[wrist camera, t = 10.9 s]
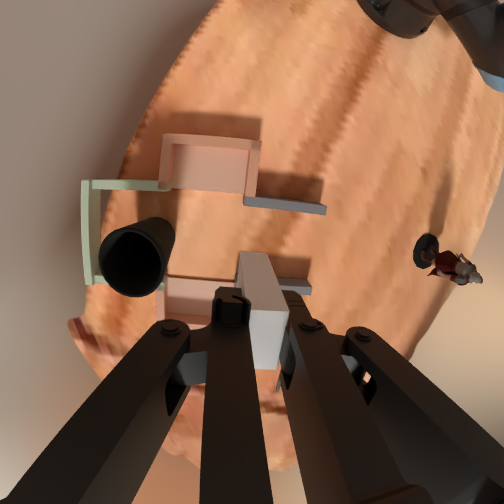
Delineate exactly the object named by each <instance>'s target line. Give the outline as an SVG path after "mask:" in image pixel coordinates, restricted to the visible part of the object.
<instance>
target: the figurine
mask: <svg viewBox="0 0 504 504" xmlns="http://www.w3.org/2000/svg"><path fill="white" fill-rule="evenodd" d="M456 255H457V254H456ZM460 256H461V257H462V259H463V260H464V261H465V262H466V263H464V262H462V261H461V260H460ZM457 257H458V258H457ZM457 257H456V256H455V255H454V254H453V253H452V252H451V251H449V250H447V251H445V252H442V253H439V243H438V241H437V238H436V237H435V236H433V235H431V234H427V235H423V236H422V237H421V238H420V239H419V240H418V241H417V243H416V245H415V248H414V251H413V260H414V262H415V264H416V266H417V267H419V268H422V269H425V268H428V267H430V266H431V265H432V264H433V265H435V267H436V268H434V269H433V270H432V271H431V272H430V274H429V275H436V276H441V277H445V278H448V279H450V280H451V281H454V282H456V283H457V284H458V285H466V284H467V283H472V282H475V283H482V282H483V279H482V277H481V276H480V274H479V273H478V272H477V271H476V266H475V265H474V264H472V263H471V262H470V261H469V260H467V259H466V258H465V257H464V256H463V254H462V253H461V254H460V255H459V256H458V255H457ZM429 275H427V276H429Z"/></svg>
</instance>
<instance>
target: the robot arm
mask: <svg viewBox="0 0 504 504" xmlns="http://www.w3.org/2000/svg"><path fill="white" fill-rule="evenodd" d="M357 1H358V3H359V5H360V6H361V8H362V9H363V11H364V12H365V13H366V14H367V15H368V16H369V17H370V18H371V19H372V20H373V21H374V22H375V23H376V24H378V25H379V26H380V27H382V28H383V29H385V30H386V31H388V32H390V33H392V34H394V35H396V36H398V37H402V38H406V39H413V38H416V37H418V36H420V35H422V34H424V33H425V32H426V31H427V29H428V28H429V26H430V25H431V23H432V22H433V20H434V19H435V17H436V16H437V15H439V14H441V15H442V16H443V18H444V19H445V20H446V22H447V23H448V25H449V26H450V27H451V29H452V30H453V31H454V33H455V34H456V36H457V37H458V39H459V40H460V42H461V43H462V45H463V46H464V48H465V50H466V51H467V53H468V54H469V56H470V58H471V59H472V63H473V65H474V66H475V67H476V68H477V69H478V71H479V73H480V75H481V76H482V78H483V80H484V81H485V83H486V84H487V85H488V86H490V87H491V88H492V89H494V90H496V91H499V92H503V93H504V3H502V4H501V3H500V2H499V1H498V0H357ZM279 359H280V363H281V371H280V375H279V379H278V383H277V387H276V391H279V389H280V386H281V388H282V392H283V397H284V401H285V405H286V410H287V414H288V419H289V423H290V428H291V432H292V437H293V441H294V446H295V450H296V455H297V459H298V463H299V468H300V473H301V477H302V482H303V486H304V490H305V495H306V499H307V504H504V448H503V447H502V446H501V445H500V444H499V443H498V442H497V441H496V440H495V439H494V438H493V437H492V436H491V435H489V433H487V432H486V431H485V430H484V429H483V428H482V427H481V426H480V425H479V424H478V423H477V422H476V421H474V420H473V419H472V418H471V417H470V416H469V415H468V414H467V413H466V412H465V411H464V410H462V409H461V408H460V407H459V406H458V405H457V404H456V403H455V402H453V400H451V399H450V398H449V397H448V396H447V395H446V394H445V393H444V392H442V391H441V390H440V389H439V388H438V387H437V386H436V385H434V384H433V383H432V382H431V381H430V380H429V379H428V378H427V377H425V376H424V375H423V374H422V373H421V372H420V371H419V370H418V369H417V368H415V367H414V366H413V365H412V364H411V363H410V362H409V361H407V360H406V359H405V358H404V357H403V356H402V355H401V354H399V353H398V352H397V351H396V350H395V349H394V348H392V347H391V346H390V345H389V344H388V343H387V342H386V341H384V340H383V339H382V338H381V337H380V336H379V335H377V334H376V333H375V332H373V331H372V330H370V329H367V328H366V327H360V326H359V327H351V328H349V329H348V330H347V332H346V335H345V336H341V335H336V334H331V333H329V332H328V330H327V328H326V326H325V325H324V324H323V323H322V322H320V321H319V320H316V319H313V318H312V317H311V315H310V313H309V311H308V309H307V307H306V305H305V303H304V301H303V299H302V297H301V295H299V294H298V293H297V292H295V291H292V290H281V288H280V286H279V283H278V281H277V278H276V275H275V273H274V270H273V268H272V265H271V263H270V260H269V258H268V255H267V253H259V252H248V251H240V259H239V268H238V278H237V288H236V287H223V286H220V287H219V288H218V289H216V290H215V296H214V299H213V300H212V315H211V322H210V324H209V325H207V326H205V327H203V328H200V329H193V330H190V328H189V326H188V325H187V324H186V323H185V322H182V321H180V320H175V319H164V320H161V321H157V322H156V323H155V324H153V325H152V326H151V327H150V328H149V330H148V331H147V332H146V333H145V334H144V335H143V336H142V337H141V338H140V339H139V341H138V342H137V343H136V344H135V345H134V346H133V347H132V348H131V349H130V351H129V352H128V353H127V354H126V355H125V356H124V357H123V358H122V360H121V361H120V362H119V363H118V364H117V365H116V366H115V367H114V369H113V370H112V371H111V372H110V373H109V374H108V375H107V376H106V378H105V379H104V380H103V381H102V382H101V384H99V386H98V387H97V388H96V389H95V390H94V392H93V393H92V394H91V395H90V396H89V397H88V398H87V399H86V401H85V402H84V403H83V404H82V405H81V407H80V408H79V409H78V410H77V411H76V412H75V413H74V415H73V416H72V417H71V418H70V419H69V421H68V422H67V423H66V424H65V425H64V427H63V428H62V429H61V430H60V431H59V432H58V434H57V435H56V436H55V437H54V439H53V440H52V441H51V442H50V443H49V445H48V446H47V447H46V448H45V449H44V451H43V452H42V453H41V454H40V456H39V457H38V458H37V459H36V460H35V462H34V463H33V464H32V466H31V467H30V468H29V469H28V470H27V472H26V473H25V474H24V475H23V477H22V478H21V479H20V481H19V482H18V483H17V484H16V486H15V487H14V488H13V490H12V491H11V492H10V493H9V495H8V496H7V497H6V498H4V499H2V500H0V504H131V503H132V501H133V499H134V497H135V496H136V494H137V492H138V490H139V488H140V486H141V484H142V482H143V480H144V478H145V476H146V474H147V472H148V471H149V469H150V467H151V465H152V463H153V461H154V459H155V457H156V455H157V453H158V451H159V449H160V447H161V445H162V443H163V441H164V440H165V438H166V436H167V434H168V432H169V430H170V428H171V426H172V424H173V422H174V420H175V418H176V416H177V414H178V412H179V410H180V408H181V406H182V404H183V402H184V400H185V398H186V396H187V394H188V393H189V391H190V388H191V385H195V384H201V383H206V385H205V399H204V413H203V429H202V447H201V469H200V498H199V500H200V501H199V504H273V497H272V490H271V484H270V477H269V470H268V463H267V456H266V449H265V442H264V435H263V428H262V420H261V413H260V406H259V398H258V391H257V383H256V376H255V369H277V368H278V364H279ZM366 371H367V372H368V373H369V374H370V375H371V378H370V380H369V382H368V383H367V382H365V381H364V380H363V378H364V376H365V374H366Z"/></svg>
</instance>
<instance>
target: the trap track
mask: <svg viewBox="0 0 504 504" xmlns="http://www.w3.org/2000/svg"><path fill="white" fill-rule="evenodd" d="M261 143H262V141H258V140H250V139H241V138H231V137H220V136H207V135H191V134H166V133H163V137H162V146H161V155H160V166H159V177H158V180H139V179H88V180H82V182H81V235H82V252H83V265H84V276H85V284H86V285H92V286H93V285H94V284H95V283H100V284H107V285H109V284H108V283H107V282H106V281H105V279H104V277H103V275H102V273H101V271H100V267H99V261H98V255H99V249H100V246H101V236H100V196H101V189H115V190H142V191H162V192H168V191H170V190H171V188H173V189H189V190H202V191H215V192H226V193H237V194H244V196H243V205H244V206H251V207H261V208H270V209H279V210H288V211H296V212H304V213H312V214H320V215H326V210H327V206H325V205H323V204H320V203H314V202H307V201H299V200H292V199H284V198H275V197H267V196H258V195H255V193H256V185H257V176H258V168H259V159H260V151H261ZM237 278H238V275H236V274H235V281H234V282H225V281H212V280H200V279H188V278H177V277H168V275H164V277H163V280H162V282H161V284H160V285H159V287H158V288H157V289H156V290H155V293H156V318H157V321H161V320H164V319H175V320H180V321H182V322H185V323H186V324H187V325H188V326H189V328H190V330H193V329H200V328H203V327H205V326H207V325H209V324H210V322H211V315H212V300H213V299H214V296H215V290H216V289H218V288H219V287H220V286H223V287H236V288H237ZM276 278H277V281H278V283H279V286H280V288H281V290H292V291H295V292H297V293H298V294H299V295H311V292H312V286H311V285H310V283H309V282H308V280H307V279H293V278H278V277H276Z"/></svg>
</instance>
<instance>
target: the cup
mask: <svg viewBox="0 0 504 504" xmlns="http://www.w3.org/2000/svg"><path fill="white" fill-rule="evenodd" d="M174 242H175V232H174V229H173V227H172V226H171V224H170V223H169V222H168V221H167V220H165V219H163V218H159V217H153V218H150V219H146V220H143V221H140V222H137V223H134V224H131V225H128V226H125V227H123V228H120V229H117V230H114V231H113V232H111V233H110V234H108V235H107V237H106V238H105V239H104V240H103V242H102V244H101V246H100V249H99V255H98V261H99V267H100V271H101V273H102V275H103V277H104V279H105V281H106V282H107V283H108V284H109V286H110V287H112V288H113V289H114V290H115V291H117V292H118V293H120V294H122V295H125V296H129V297H143V296H147V295H149V294H151V293H152V292H154V291H155V290H156V289H157V288H158V287H159V285H160V284H161V282H162V280H163V277H164V274H165V271H166V267H167V264H168V261H169V258H170V254H171V251H172V248H173V245H174Z"/></svg>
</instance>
